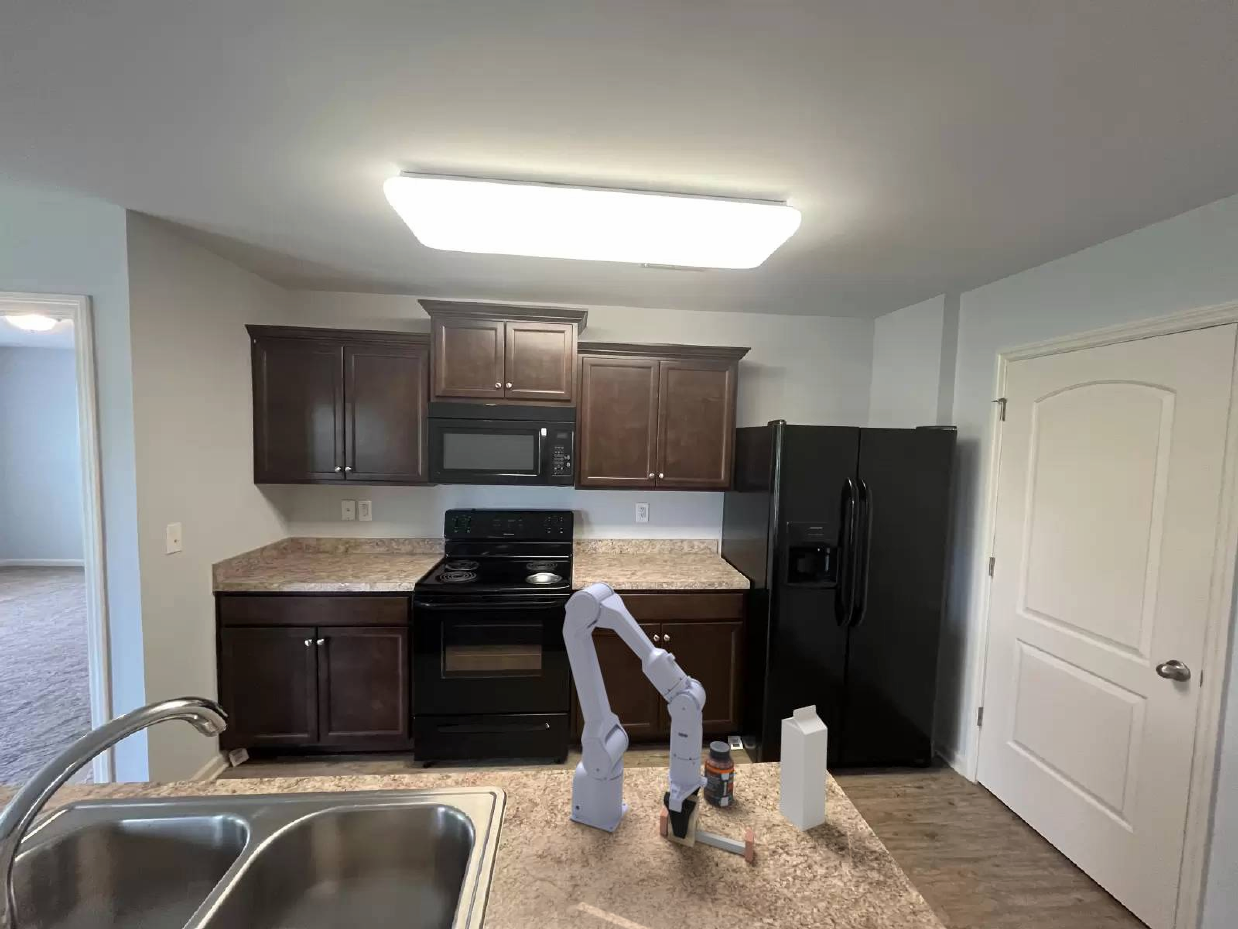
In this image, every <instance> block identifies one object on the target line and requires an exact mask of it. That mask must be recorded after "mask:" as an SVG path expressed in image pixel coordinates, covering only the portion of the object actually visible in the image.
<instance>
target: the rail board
mask: <svg viewBox="0 0 1238 929" xmlns="http://www.w3.org/2000/svg"><path fill="white" fill-rule="evenodd" d="M668 816H669V813H668V810H667V808H666V806H665V805H664V804H663V807H662V811H661V813H660V816H659V834H660V835H663V836H667V835H668ZM696 841H697V842H700V843H703V844H706V845H710V846H713V847H716V848H720V849H722V850H726V851H729V852H732V853H736V854H739V855H742V856H744V860H745V861H747V862H750V863H752V862H753V858H754V852H755V849H754V847H755V829H750V828H746V835H745V840H744V842H741V841H737V840H735V839H731V838H727V837H724V836H721V835H718V834H714V833H712V832H708V831H705V830H701V829H699V830H698V829H695V842H696Z"/></svg>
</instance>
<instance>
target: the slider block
mask: <svg viewBox="0 0 1238 929" xmlns="http://www.w3.org/2000/svg"><path fill="white" fill-rule="evenodd" d="M700 799H701V797H700V796H696V795H692V794H690V795H689V796H688V797H687V800H691V801H694V802H696V805H695V808H694V810H693V812H692V813H691V815H690V819H689V824H688V830H687V834H686V837H685V839H682V838H679V837H675V836H674V835H673V830H672V825H671V820H670V816H668V832H667V840H668V841H671V842H674V843H677V844H681V845H683V846H686V847H690V848H694V845H695V842H696V840H695V829H698V830H700V828H699V827H700V826H699V824H700V805H701V804H700V802H701V801H700Z"/></svg>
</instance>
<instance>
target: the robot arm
mask: <svg viewBox="0 0 1238 929" xmlns="http://www.w3.org/2000/svg"><path fill="white" fill-rule="evenodd" d="M564 608H565V612H566V613H565V617H564V621H563V622H564V623H563V627H562V635H563V640H564V644H565V647H566V651H567V655H568V660H569V664H570V669H571V672H572V677H573V680H574V684H575V687H576V691H577V696H578V701H579V704H580V707H581V708H580V709H581V711H582V716H583V720H584V725H583V730H582V735H581V739H580V740H581V747H582V754H581V760H580V761H579V763H578V765H577V766H576V769H575V770H574V775H573V778H572V786H571V788H572V790H571V813H570V814H569V819H570V820H572V821H576V822H578V823H582V824H585V825H587V826H591V827H593V828H598V829H599V830H603V831H606V832H609V833H613V834H614V833H615V831H616V829H617V827H618V826H619V824H620V822H621V820H622V818H623V816H624V815H625V813H626V811H627V810H628V807H629V806H630V804H628V803H626V802H623V794H624V791H623V790H624V761H623V754H625V752H626V750H627V749H628V747H629V737H628V734H627V732H626V731H625V729H624V727H623V726H622V725H621V722H620V720H619V716H618V715H616V714H615V713H614V712H612V711H611V706H610V702H609V698H608V694H607V691H606V687H605V683H604V678H603V675H602V672H601V668H600V664H599V661H598V655H597V652H596V648H595V645H594V641H593V637H592V633H593V631H594V629H595V628H596V627H597V628H604V629H612V630H614V632H615V633H616V634H617V635H618V636H619V637H620V638H621V639H622V640H623V641H624V642H625V643H626V645H628V647H629V648H630V649H631V650H632V651H633V652H634V653H635V654H636V656H637V657H638V658H639V659H640V660H641V664H642V665H641V666H642V667H641V668H642V672H643V673H644V674H645V676H646V677H647V678H648V680H649V681H650V682H651V684H653V686H654V687H655V688H656V690H657V691H658V692H659V693H660V694H661V696H662V697H663V698H664V699H665V701H667V703H668V704H667V711H668V713H669V715H670V717H671V723H670V746H669V747H670V748H669V749H670V751H669V770H668V774H667V778H668V779H667V780H668V786H669V791H665V793H664V795H663V806H664V805H665V806H666V808H667V810H668V813H669V816H670V820H671V825H672V830H673V835H674V836H675V837H679V838H682V839H685V837H686V834H687V830H688V824H689V819H690V815H691V813H692V812H693V810H694V808H695V805H696V802H694V801H691V800H687V797H688V796H689V795H690V794H692V795H696V796H698V794H699V792H700V790H701V789H702V788H704V787H706V785H707V778H706V777H704V774H702V753H703V752H702V751H703V747H702V746H703V725H702V724H703V712H702V710H703V708H704V706H705V703H706V699H707V698H706V691H705V689H704V686H702V684H701V682H699V680H697V679H695V678H691V676H690V675H687V674H686V673H685V672H684V670H682V669H681V667H680V666H679V665H678V663H677V662H676V661H675V659H676V657H675V655H673V653H672V652H670V653H668V652H667V651H666V650H667V649H663V648H658V647H655V645H654V644H653V642H651V640H650V639H649V637H648V636H647V635H646V633H645V632H644V631H643V629H642V627H640V626H639V624H638V622H637V621H636V620H635V618H634V617H633V616H632V614H631V613H630V612H629V611H628V609H627V608H626V606H625V604H624V602H623V599H622V598H621V596H620V595H619V594H618V593H617V592H615V591H614V588H613V587H612V586H611V585H610V584H608V583H606V582H603V581H597V582H594V583H592V584H591V585H590V586H588V587H585V588H583V589H581V590H578V591H576V592H574V593H573V594H572V595H571V597H570V598H569V599H568V601H567V602H566V603H565V605H564Z"/></svg>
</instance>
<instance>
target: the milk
mask: <svg viewBox="0 0 1238 929" xmlns="http://www.w3.org/2000/svg"><path fill="white" fill-rule="evenodd" d="M816 709H817V707H816V705H815V704H814V705H810V706H805V707H801V708H798V709H794V710H793V716H792V717H789V718H785V719H781V738H780V739H781V743H780V744H781V745H780V771H779V772H780V773H779V774H780V775H779V777H780V778H779V806H778V807H779V810H778V812H779V813H780V814H781V815H783V817H785V818H786V819H787V820H788V821H789V822H790V823H791V824H793V825H794V827H796V828H798V830H800V832H805V831H808V830H810V829H813V828H815V827H818V826H819V825H820V826H821V825H823V824H825V823H826V822H825V821H826V793H827V792H826V791H827V790H826V787H827V783H826V782H827V757H828V756H827V755H828V753H827V752H828V751H827V750H828V749H827V748H828V727H827V725H826V724H825V723H824V722H823V721H822V719H821V718H820V717H819V715H818V714H817V710H816Z"/></svg>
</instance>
